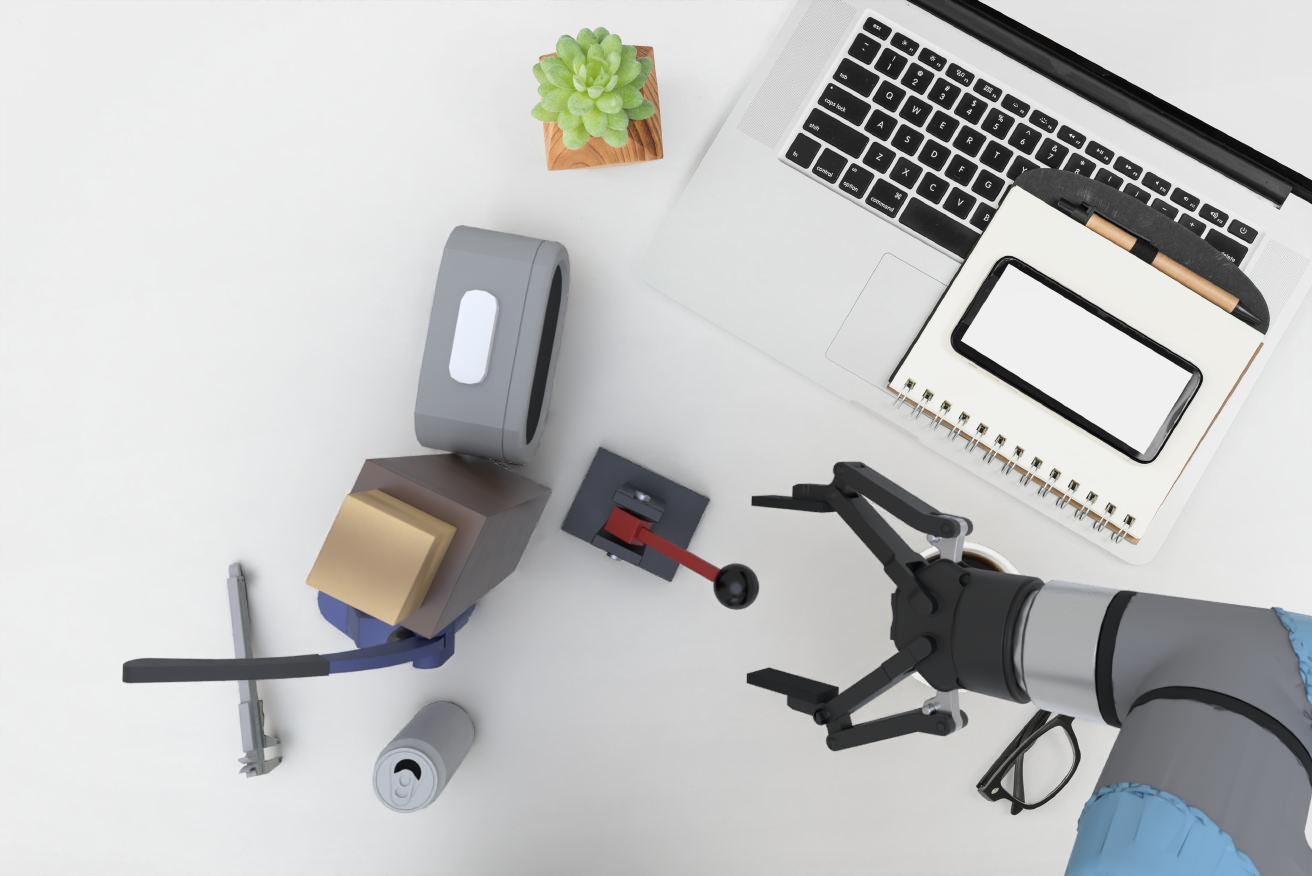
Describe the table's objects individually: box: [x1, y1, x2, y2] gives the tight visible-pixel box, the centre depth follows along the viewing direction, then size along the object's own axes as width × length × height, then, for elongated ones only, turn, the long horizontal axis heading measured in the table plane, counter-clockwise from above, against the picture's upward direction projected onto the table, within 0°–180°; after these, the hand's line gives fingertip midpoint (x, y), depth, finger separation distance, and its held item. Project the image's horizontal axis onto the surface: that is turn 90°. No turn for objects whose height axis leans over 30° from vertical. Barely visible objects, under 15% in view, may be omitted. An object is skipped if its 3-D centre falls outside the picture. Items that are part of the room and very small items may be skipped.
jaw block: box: [305, 489, 457, 626], centre depth 52 cm, size 6×6×5 cm
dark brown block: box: [349, 452, 553, 639], centre depth 69 cm, size 9×9×28 cm
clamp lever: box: [604, 506, 760, 611], centre depth 68 cm, size 14×4×4 cm, turn 64°
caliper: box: [226, 562, 283, 779], centre depth 80 cm, size 20×1×6 cm, turn 13°
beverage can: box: [372, 701, 475, 814], centre depth 77 cm, size 6×6×12 cm
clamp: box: [121, 590, 476, 684], centre depth 69 cm, size 19×9×28 cm, turn 88°
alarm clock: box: [413, 224, 571, 466], centre depth 76 cm, size 21×10×13 cm, turn 170°
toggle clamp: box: [560, 446, 711, 583], centre depth 75 cm, size 12×9×14 cm
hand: (759, 587), depth 64 cm, fingers open, 13 cm apart
